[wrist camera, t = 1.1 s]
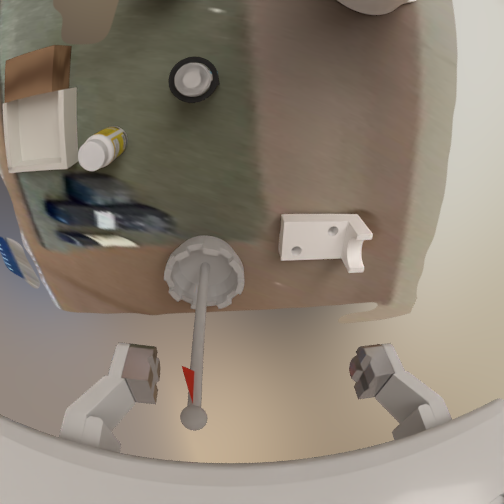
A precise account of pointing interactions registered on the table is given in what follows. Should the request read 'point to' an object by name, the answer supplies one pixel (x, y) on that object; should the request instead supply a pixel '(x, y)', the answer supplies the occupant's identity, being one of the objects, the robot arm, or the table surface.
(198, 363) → the flag stand
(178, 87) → the push button
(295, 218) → the bracket
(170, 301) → the table surface
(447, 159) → the table surface
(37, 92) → the walnut step
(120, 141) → the supplement bottle
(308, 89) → the table surface
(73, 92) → the grey tray
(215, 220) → the table surface
